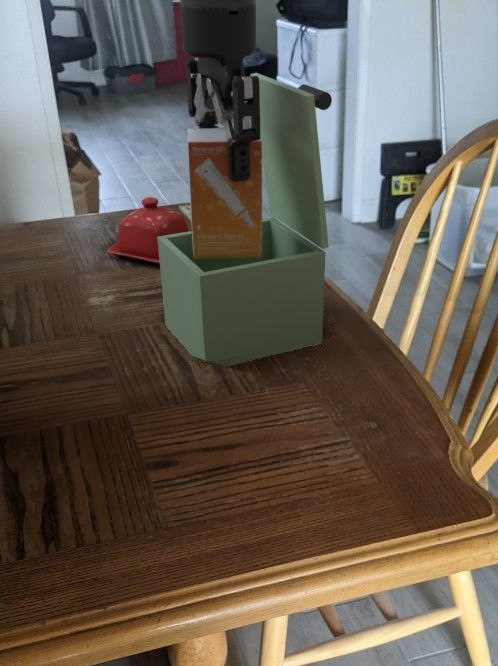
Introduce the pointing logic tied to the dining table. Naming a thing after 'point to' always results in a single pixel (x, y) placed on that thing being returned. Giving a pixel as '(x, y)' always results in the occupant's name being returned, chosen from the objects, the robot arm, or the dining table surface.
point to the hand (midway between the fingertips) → (224, 170)
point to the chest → (244, 297)
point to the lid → (293, 156)
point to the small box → (223, 198)
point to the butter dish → (147, 230)
